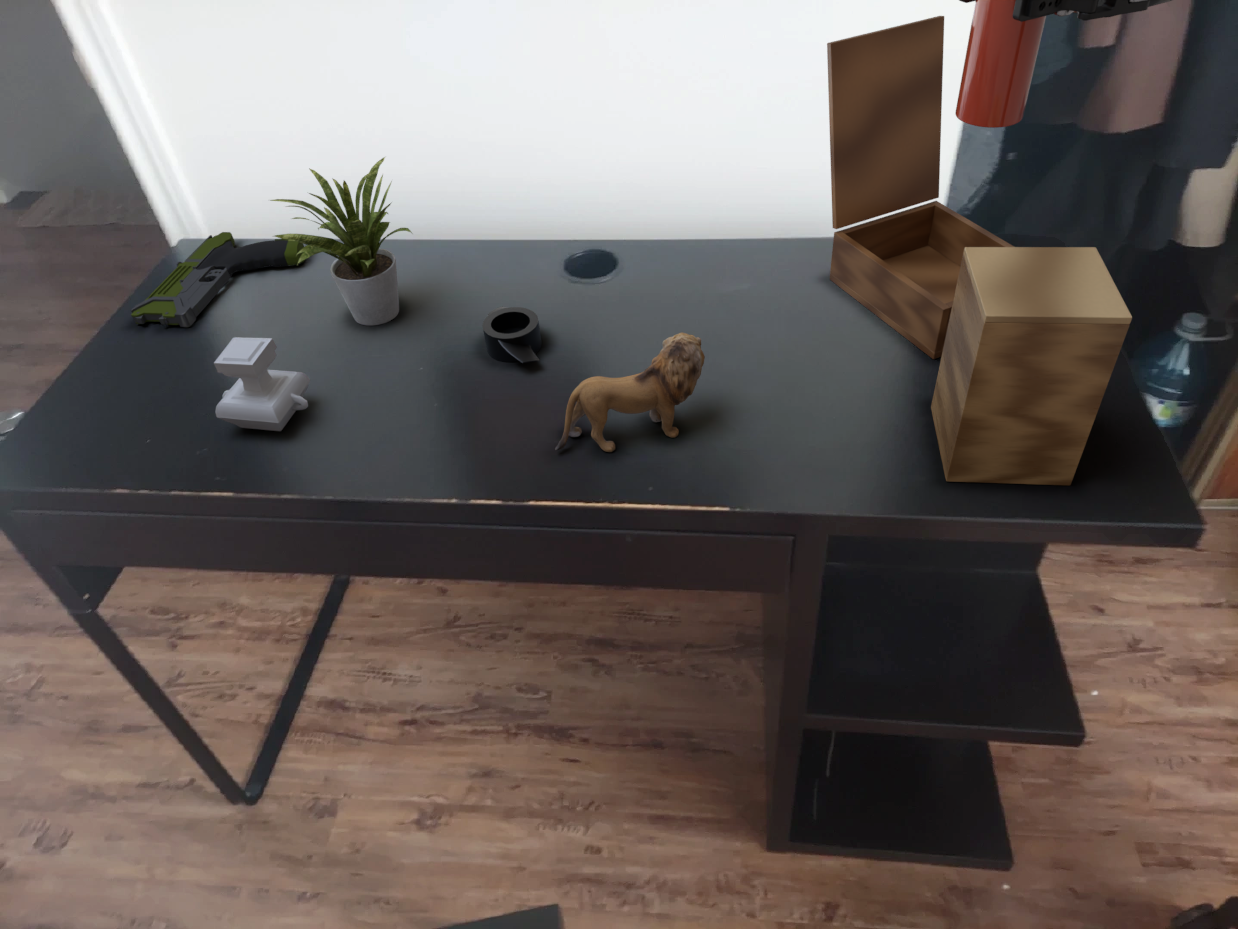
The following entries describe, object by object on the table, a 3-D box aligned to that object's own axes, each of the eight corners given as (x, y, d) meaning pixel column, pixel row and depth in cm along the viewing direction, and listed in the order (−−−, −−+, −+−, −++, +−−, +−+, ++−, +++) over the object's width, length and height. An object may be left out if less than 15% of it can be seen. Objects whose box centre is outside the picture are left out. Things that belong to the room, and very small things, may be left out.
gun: (248, 334, 102) (130, 330, 105) (318, 246, 115) (211, 245, 118) (240, 315, 100) (120, 312, 103) (311, 228, 114) (204, 227, 117)
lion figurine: (691, 394, 89) (690, 316, 82) (715, 426, 85) (716, 346, 79) (547, 438, 85) (535, 359, 79) (566, 473, 81) (554, 393, 75)
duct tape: (465, 372, 94) (460, 348, 92) (491, 317, 101) (487, 295, 99) (539, 375, 92) (535, 352, 90) (559, 320, 100) (556, 297, 98)
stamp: (328, 400, 92) (303, 330, 86) (299, 443, 87) (270, 372, 81) (247, 394, 93) (217, 324, 88) (214, 436, 89) (180, 365, 83)
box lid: (944, 15, 92) (916, 14, 95) (830, 43, 88) (805, 40, 92) (939, 197, 102) (913, 190, 105) (836, 229, 98) (813, 220, 101)
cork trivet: (1094, 253, 73) (1096, 246, 72) (1130, 324, 65) (1132, 317, 65) (963, 253, 74) (964, 246, 74) (984, 322, 67) (986, 315, 66)
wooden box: (1040, 320, 94) (1054, 270, 90) (933, 359, 90) (943, 309, 86) (927, 246, 106) (936, 200, 102) (829, 279, 102) (834, 232, 98)
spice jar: (1035, 112, 80) (1071, -40, 72) (1000, 133, 77) (1034, -23, 69) (977, 97, 83) (1006, -50, 75) (942, 117, 80) (968, -34, 72)
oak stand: (1044, 410, 84) (1094, 253, 73) (1070, 485, 76) (1130, 324, 65) (930, 407, 85) (963, 253, 74) (945, 481, 78) (984, 322, 67)
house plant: (352, 268, 111) (313, 137, 100) (457, 278, 108) (428, 143, 97) (291, 335, 101) (240, 197, 90) (405, 348, 98) (366, 206, 87)
